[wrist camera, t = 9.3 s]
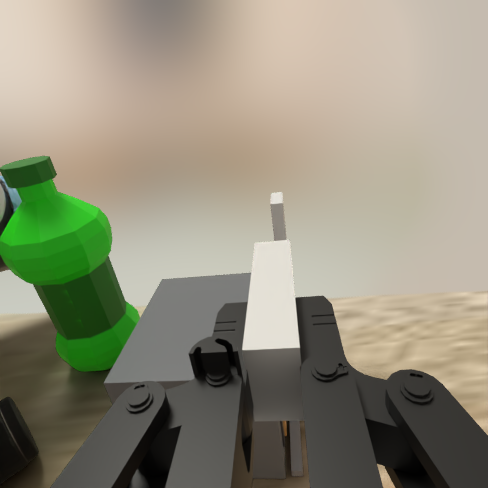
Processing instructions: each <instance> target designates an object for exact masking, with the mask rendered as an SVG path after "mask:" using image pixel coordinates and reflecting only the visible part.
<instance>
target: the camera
mask: <svg viewBox="0 0 488 488" xmlns="http://www.w3.org/2000/svg"><path fill="white" fill-rule="evenodd" d="M37 455H38V448H37V446H36V444H35V441H34V439H33V437H32V435H31V433H30V431H29V429H28V427H27V425H26V423H25V421H24V419H23V417H22V415H21V413H20V412H19V410H18V408H17V407H16V405H15V403H14V401H13V400H12V399H11V398H10V397H6V398H5V399H3V400H1V401H0V484H1V483H3V482H4V481H5V480H6V479H8V478H9V477H11V476H12V475H14V474H16V473H17V472H18V471H20V470H21V469H23V468H24V467H25V466H27V464H28V463H29V462H30V461H31V460H32V459H34V458H35V457H36V456H37Z"/></svg>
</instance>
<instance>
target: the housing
mask: <svg viewBox="0 0 488 488" xmlns="http://www.w3.org/2000/svg"><path fill="white" fill-rule="evenodd" d="M250 280H251V273H242V274H230V275H215V276H203V277H188V278H174V279H162V281H161V282H160V284H159V286H158V288H157V289H156V291H155V293H154V295H153V297H152V298H151V300H150V302H149V304H148V305H147V307H146V309H145V311H144V312H143V314H142V316H141V318H140V319H139V321H138V323H137V325H136V327H135V328H134V330H133V332H132V334H131V335H130V337H129V339H128V341H127V342H126V344H125V346H124V348H123V350H122V351H121V353H120V355H119V357H118V358H117V360H116V362H115V364H114V365H113V367H112V369H111V371H110V373H109V374H108V376H107V378H106V380H105V381H104V386H105V388H106V390H107V393H108V395H109V397H110V400H111V402H112V405H113V404H114V402H115V401H116V400H117V398H118V397H119V396H120V395H121V394H122V393H123V392H124V391H125V390H126V389H127V388H129V387H131V386H132V385H134V384H136V383H140V382H143V381H155V382H157V383H160V384H161V385H162V387H163V388H164V389H165V390H167V389H170V388H173V387H177V386H180V385H182V384H185V383H187V382H189V381H191V380H192V379H194V373H193V369H192V365H191V362H190V358H189V354H188V353H189V352H190V350H191V348H192V347H193V346H194V345H195V344H196V343H197V342H198V341H200V340H202V339H205V338H207V337H211V336H212V334H213V330H214V326H215V322H216V317H217V313H218V311H219V310H220V309H221V308H222V307H223V306H224V304H225V303H238V302H248V297H249V288H250ZM252 428H253V434H254V459H253V478H252V479H286V465H285V436H287V431H286V421H255V420H254V414H253V424H252ZM290 448H291V472H292V476H303V464H302V448H301V433H300V421H290Z"/></svg>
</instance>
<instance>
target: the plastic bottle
mask: <svg viewBox="0 0 488 488" xmlns="http://www.w3.org/2000/svg"><path fill="white" fill-rule="evenodd" d="M0 172H1V173H2V176H3V178H4V180H5V182H6V184H7V186H8V187H9V188H13V189H14V188H16V190H17V192H18V194H19V196H20V198H21V200H22V202H21V204H20V205H19V207H18V208H17V210H16V211H15V213H14V214H13V216H12V217H11V219H10V220H9V222H8V224H7V226H6V228H5V229H4V231H3V233H2V235H1V237H0V255H1V257H2V259H3V261H4V263H5V264H6V266H7V267H8V268H9V269H10V270H11V271H12V272H13V273H14V274H15V275H16V276H18V277H19V278H21V279H23V280H24V281H26V282H28V283H31V284H33V285H34V287H35V289H36V291H37V293H38V295H39V297H40V299H41V301H42V303H43V305H44V306H45V309H46V310H47V312H48V314H49V316H50V318H51V320H52V322H53V324H54V326H55V328H56V330H57V336H56V351H57V352H58V354H59V356H60V357H61V358H62V359H63V360H64V361H66V362H67V363H68V364H69V365H70V366H72V367H73V368H75V369H76V370H78V371H82V372H89V371H102V370H108V369H110V368H112V367H113V365H114V364H115V362H116V360H117V358H118V357H119V355H120V353H121V351H122V350H123V348H124V346H125V344H126V342H127V341H128V339H129V337H130V335H131V334H132V332H133V330H134V328H135V327H136V325H137V323H138V321H139V319H140V316H139V314H138V311H137V310H136V309H135V308H134V307H133V306H132V305H130V304H129V303H128V302H126V301H125V299H124V296H123V294H122V291H121V288H120V286H119V283H118V280H117V278H116V275H115V272H114V270H113V267H112V265H111V262H110V259H109V256H108V255H109V253H110V251H111V244H112V233H111V227H110V224H109V221H108V218H107V217H106V215H105V214H104V213H103V212H102V211H101V210H100V209H99V208H97V207H95V206H93V205H91V204H88V203H86V202H84V201H82V200H79V199H77V198H74V197H71V196H68V195H66V194H63V193H60V192H57V189H56V187H55V185H54V182H53V180H52V179H53V178H54V177H55V176H56V175H57V174H56V171H55V169H54V166H53V164H52V162H51V159H50V157H48V156H40V157H33V158H28V159H23V160H19V161H15V162H12V163H9V164H6V165H4V166H2V167H1V168H0Z"/></svg>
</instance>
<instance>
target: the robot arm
mask: <svg viewBox="0 0 488 488" xmlns="http://www.w3.org/2000/svg"><path fill="white" fill-rule="evenodd" d="M21 202H22V200H21V198H20V196H19V194H18V192H17V190H16V188H14V189H13V188H9V187H8V186H7V184H6V182H5V180H4V178H3V176H0V237H1V235H2V233H3V231H4V229H5V228H6V226H7V224H8V222H9V220H10V219H11V217H12V216H13V214H14V213H15V211H16V210H17V208H18V207H19V205H20V204H21ZM5 270H10V269H9V268H8V267H7V266H6V264H5V263H4V261H3V259H2V257H1V255H0V272H2V271H5ZM188 354H189V358H190V362H191V365H192V369H193V373H194V379H192V380H191V381H189V382H187V383H185V384H182V385H180V386H177V387H173V388H170V389H167V390H165V389H164V388H163V387H162V385H161V384H160V383H157V382H155V381H143V382H140V383H136V384H134V385H132V386H131V387H129V388H127V389H126V390H125V391H124V392H123V393H122V394H121V395H120V396H119V397H118V398H117V400H116V401H115V402H114V404H113V405H112V406H111V408H110V409H109V410H108V412H107V413H106V414H105V416H104V417H103V418H102V420H101V421H100V422H99V424H98V425H97V426H96V428H95V429H94V430H93V432H92V433H91V434H90V435H89V437H88V438H87V439H86V441H85V442H84V443H83V445H82V446H81V447H80V449H79V450H78V451H77V453H76V454H75V455H74V457H73V458H72V459H71V461H70V462H69V463H68V465H67V466H66V467H65V469H64V470H63V471H62V473H61V474H60V475H59V476H58V478H57V479H56V480H55V482H54V483H53V484H52V486H51V487H50V488H252V478H253V459H254V434H253V428H252V424H253V414H254V420H255V421H300V420H304V422H305V434H306V446H307V458H308V470H309V482H310V488H383V486H382V482H381V478H380V474H379V470H378V467H377V464H380V465H383V466H385V469H386V471H387V473H388V474H389V476H390V478H391V480H392V482H393V484H394V486H395V488H488V435H487V434H486V433H485V432H484V431H483V430H482V429H481V427H480V426H479V425H478V424H477V423H476V422H475V421H474V420H473V418H472V417H471V416H470V415H469V414H468V413H467V412H466V410H465V409H464V408H463V407H462V406H461V405H460V404H459V402H458V401H457V400H456V399H455V398H454V397H453V396H452V395H451V393H450V392H449V391H448V390H447V389H446V388H445V387H444V385H443V384H441V383H440V382H439V381H438V380H437V379H436V378H434V377H433V376H431V375H429V374H426V373H424V372H422V371H417V370H412V369H409V370H399V371H397V372H395V373H393V374H391V376H390V377H389V378H388V379H387V380H384V379H380V378H375V377H371V376H368V375H364V374H363V373H361V372H359V371H357V370H356V369H354V368H353V367H352V366H351V365H350V364H349V363H348V362H347V360H346V357H345V355H344V351H343V347H342V343H341V339H340V335H339V331H338V327H337V324H336V319H335V316H334V311H333V307H332V304H331V303H330V302H329V301H328V300H327V299H326V298H325V297H324V296H313V297H298V298H295V291H294V280H293V270H292V259H291V248H290V240H280V241H269V242H259V243H255V246H254V255H253V263H252V271H251V280H250V288H249V297H248V302H238V303H225V304H224V306H223V307H222V308H221V309H220V310H219V311H218V313H217V317H216V322H215V326H214V330H213V334H212V336H211V337H207V338H205V339H202V340H200V341H198V342H197V343H196V344H195V345H194V346H193V347H192V348H191V350H190V352H189V353H188Z"/></svg>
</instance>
